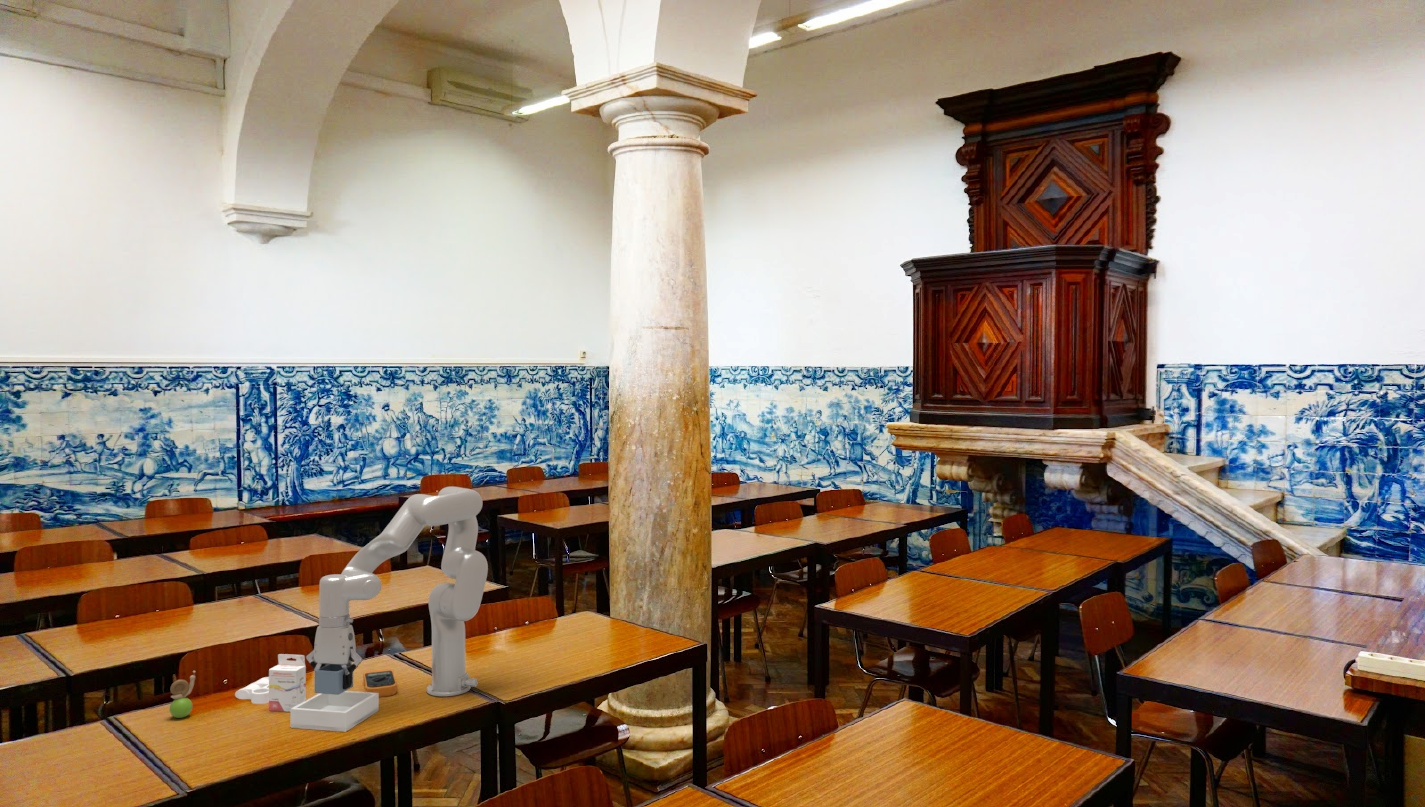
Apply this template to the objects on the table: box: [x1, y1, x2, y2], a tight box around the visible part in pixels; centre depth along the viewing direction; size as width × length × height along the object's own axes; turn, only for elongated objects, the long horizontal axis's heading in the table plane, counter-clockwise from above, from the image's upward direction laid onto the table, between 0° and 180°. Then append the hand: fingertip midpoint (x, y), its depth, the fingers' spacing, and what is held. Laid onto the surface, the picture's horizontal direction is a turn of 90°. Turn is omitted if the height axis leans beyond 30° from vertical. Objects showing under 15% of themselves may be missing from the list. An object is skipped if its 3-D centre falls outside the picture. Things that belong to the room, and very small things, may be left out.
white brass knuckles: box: [234, 676, 269, 705], centre depth 277 cm, size 3×18×15 cm
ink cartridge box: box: [268, 653, 307, 713], centre depth 263 cm, size 9×5×15 cm, turn 84°
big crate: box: [289, 690, 380, 733], centre depth 255 cm, size 16×16×5 cm
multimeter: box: [362, 668, 398, 698], centre depth 281 cm, size 9×18×3 cm, turn 23°
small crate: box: [314, 664, 354, 695], centre depth 255 cm, size 7×7×6 cm
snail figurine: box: [169, 670, 196, 719], centre depth 257 cm, size 5×6×12 cm
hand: (334, 686), depth 255 cm, fingers closed on small crate, 7 cm apart
